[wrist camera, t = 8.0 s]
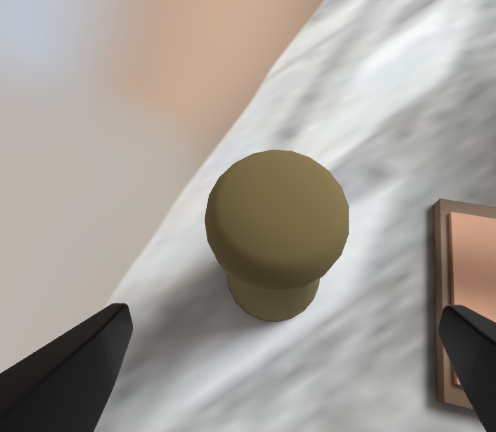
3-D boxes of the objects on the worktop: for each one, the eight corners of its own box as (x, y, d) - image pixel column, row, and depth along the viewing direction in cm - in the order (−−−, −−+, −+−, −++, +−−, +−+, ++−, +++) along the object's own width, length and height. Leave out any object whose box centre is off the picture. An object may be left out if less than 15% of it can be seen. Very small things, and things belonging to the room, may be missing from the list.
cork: (296, 217, 21) (322, 101, 11) (336, 300, 19) (415, 251, 8) (215, 247, 20) (163, 155, 10) (245, 336, 18) (214, 329, 8)
